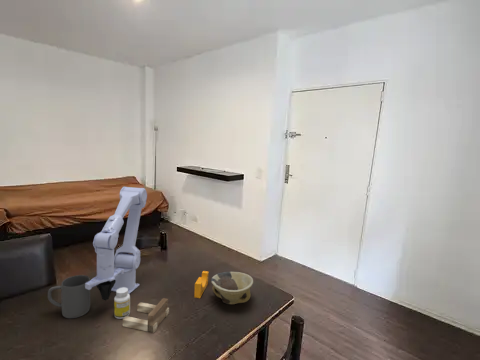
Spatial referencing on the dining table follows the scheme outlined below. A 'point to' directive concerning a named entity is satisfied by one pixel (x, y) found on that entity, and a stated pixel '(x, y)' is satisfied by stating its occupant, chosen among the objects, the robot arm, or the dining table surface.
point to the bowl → (232, 286)
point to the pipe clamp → (201, 284)
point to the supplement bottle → (121, 303)
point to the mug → (73, 296)
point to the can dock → (154, 316)
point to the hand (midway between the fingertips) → (105, 299)
